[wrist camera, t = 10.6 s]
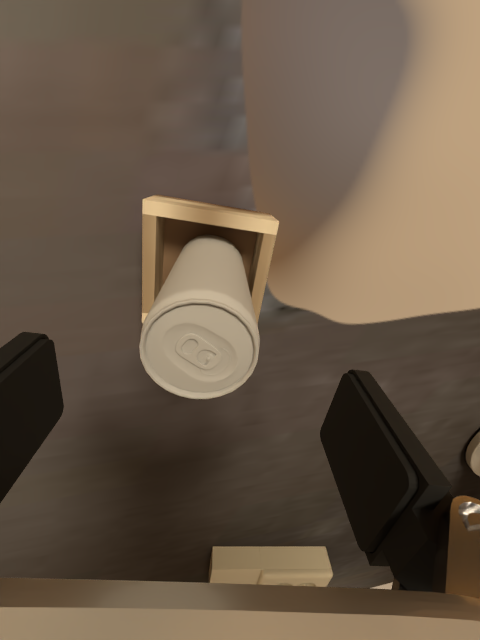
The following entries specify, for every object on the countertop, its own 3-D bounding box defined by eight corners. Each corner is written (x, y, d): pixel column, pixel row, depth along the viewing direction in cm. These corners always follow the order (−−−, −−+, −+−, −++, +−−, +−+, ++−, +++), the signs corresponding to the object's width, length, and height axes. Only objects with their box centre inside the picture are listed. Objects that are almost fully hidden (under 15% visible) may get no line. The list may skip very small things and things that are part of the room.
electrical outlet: (211, 577, 39) (334, 576, 41) (212, 543, 43) (325, 544, 45) (208, 599, 43) (321, 597, 45) (209, 566, 46) (314, 565, 48)
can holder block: (269, 213, 21) (279, 221, 17) (250, 311, 25) (254, 335, 21) (156, 194, 20) (142, 199, 16) (154, 300, 24) (142, 322, 20)
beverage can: (215, 305, 23) (209, 418, 12) (166, 268, 21) (110, 362, 11) (255, 261, 21) (288, 347, 11) (206, 218, 20) (186, 268, 9)
